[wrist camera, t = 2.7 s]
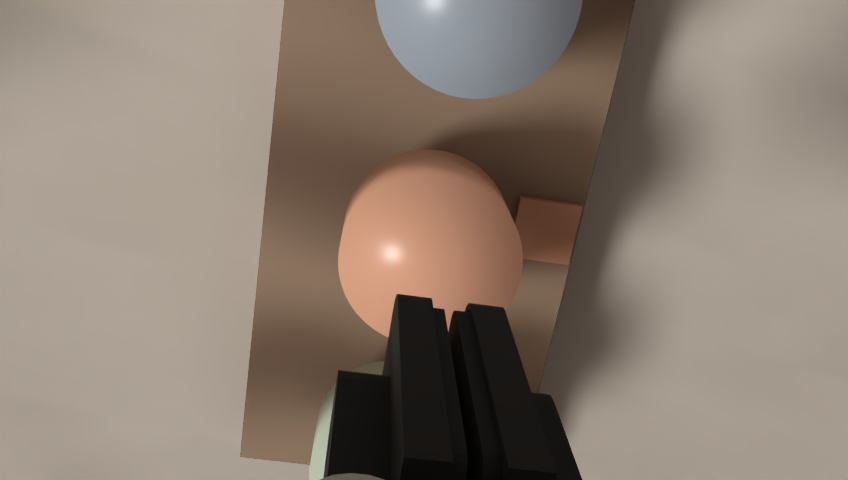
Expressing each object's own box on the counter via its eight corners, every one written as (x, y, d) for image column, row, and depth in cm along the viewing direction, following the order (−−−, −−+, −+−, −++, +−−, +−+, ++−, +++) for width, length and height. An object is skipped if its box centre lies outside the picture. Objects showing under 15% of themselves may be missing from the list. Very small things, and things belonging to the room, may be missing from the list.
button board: (506, 450, 27) (515, 491, 25) (251, 421, 26) (238, 460, 24) (636, -95, 21) (662, -100, 19) (309, -155, 20) (299, -168, 18)
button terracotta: (491, 314, 21) (503, 357, 19) (334, 293, 21) (327, 334, 19) (524, 163, 20) (540, 189, 18) (355, 137, 20) (350, 161, 17)
